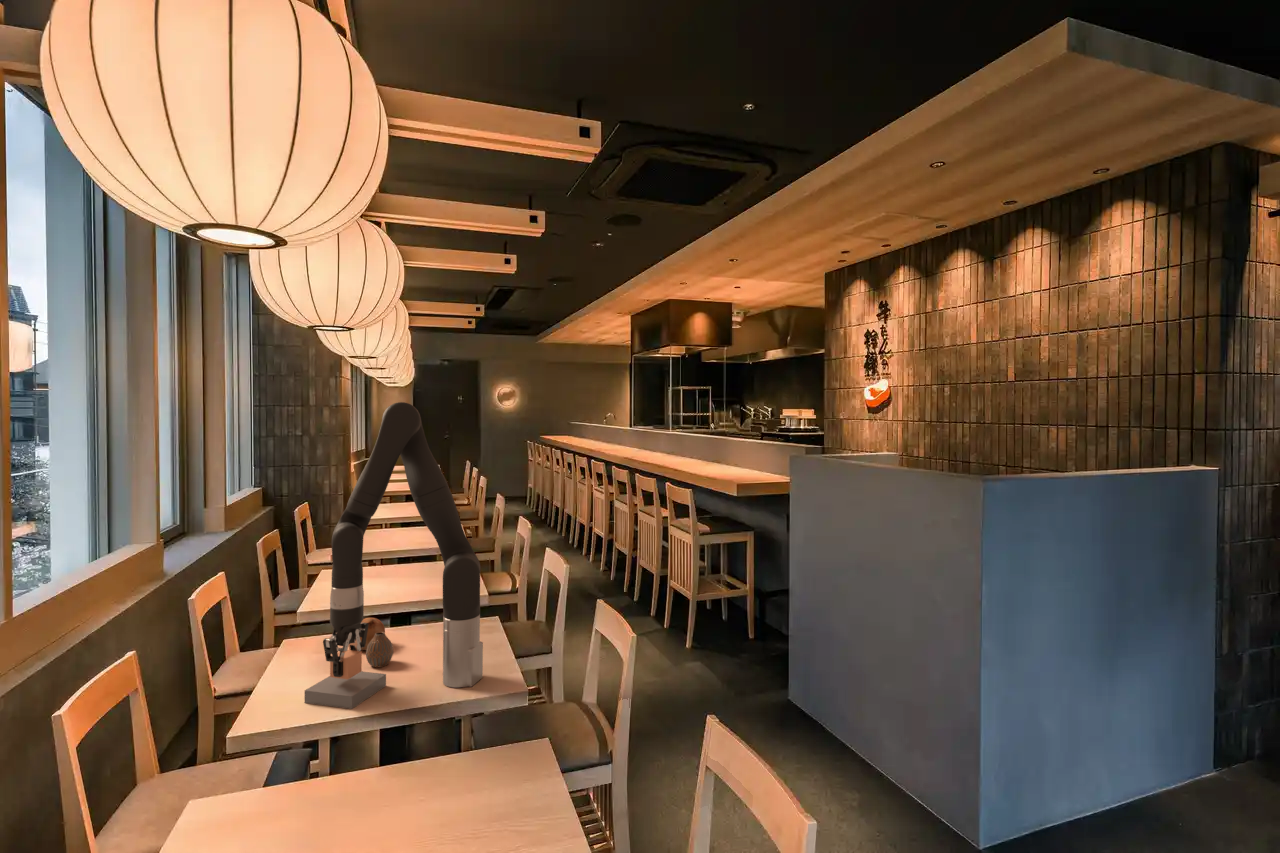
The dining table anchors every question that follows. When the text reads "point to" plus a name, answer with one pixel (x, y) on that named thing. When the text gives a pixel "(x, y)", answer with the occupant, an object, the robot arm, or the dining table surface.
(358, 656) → the block
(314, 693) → the block
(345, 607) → the robot arm
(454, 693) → the dining table surface
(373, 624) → the brown round piece
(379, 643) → the vase
